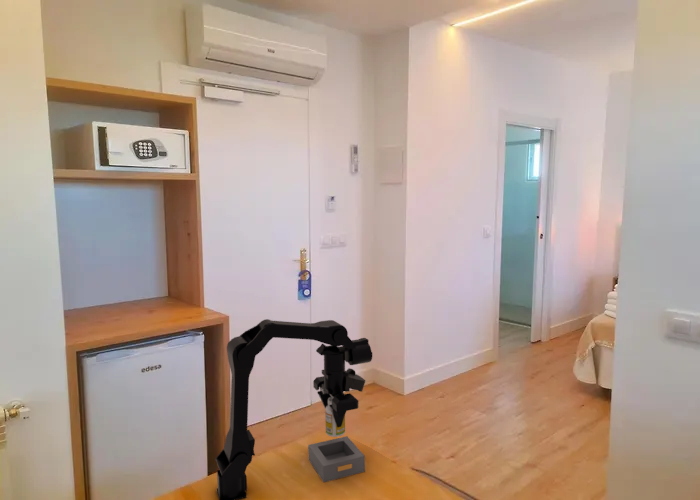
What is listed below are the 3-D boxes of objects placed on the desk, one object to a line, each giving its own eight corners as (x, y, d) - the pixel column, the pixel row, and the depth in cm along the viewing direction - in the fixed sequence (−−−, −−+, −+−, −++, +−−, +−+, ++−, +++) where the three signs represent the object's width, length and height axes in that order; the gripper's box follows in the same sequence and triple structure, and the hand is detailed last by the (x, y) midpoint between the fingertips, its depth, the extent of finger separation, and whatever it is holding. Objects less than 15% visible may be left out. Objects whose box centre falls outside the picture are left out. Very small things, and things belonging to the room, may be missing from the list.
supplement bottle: (346, 428, 139) (345, 395, 138) (344, 437, 134) (343, 403, 132) (327, 427, 139) (326, 394, 138) (324, 437, 134) (323, 402, 133)
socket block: (324, 483, 130) (323, 467, 129) (308, 459, 141) (308, 444, 140) (365, 472, 134) (365, 456, 134) (347, 450, 146) (347, 436, 145)
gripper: (376, 374, 129) (376, 431, 131) (348, 353, 146) (348, 403, 148) (337, 381, 125) (337, 440, 126) (312, 358, 142) (313, 410, 143)
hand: (335, 422), depth 136 cm, fingers closed on supplement bottle, 5 cm apart
